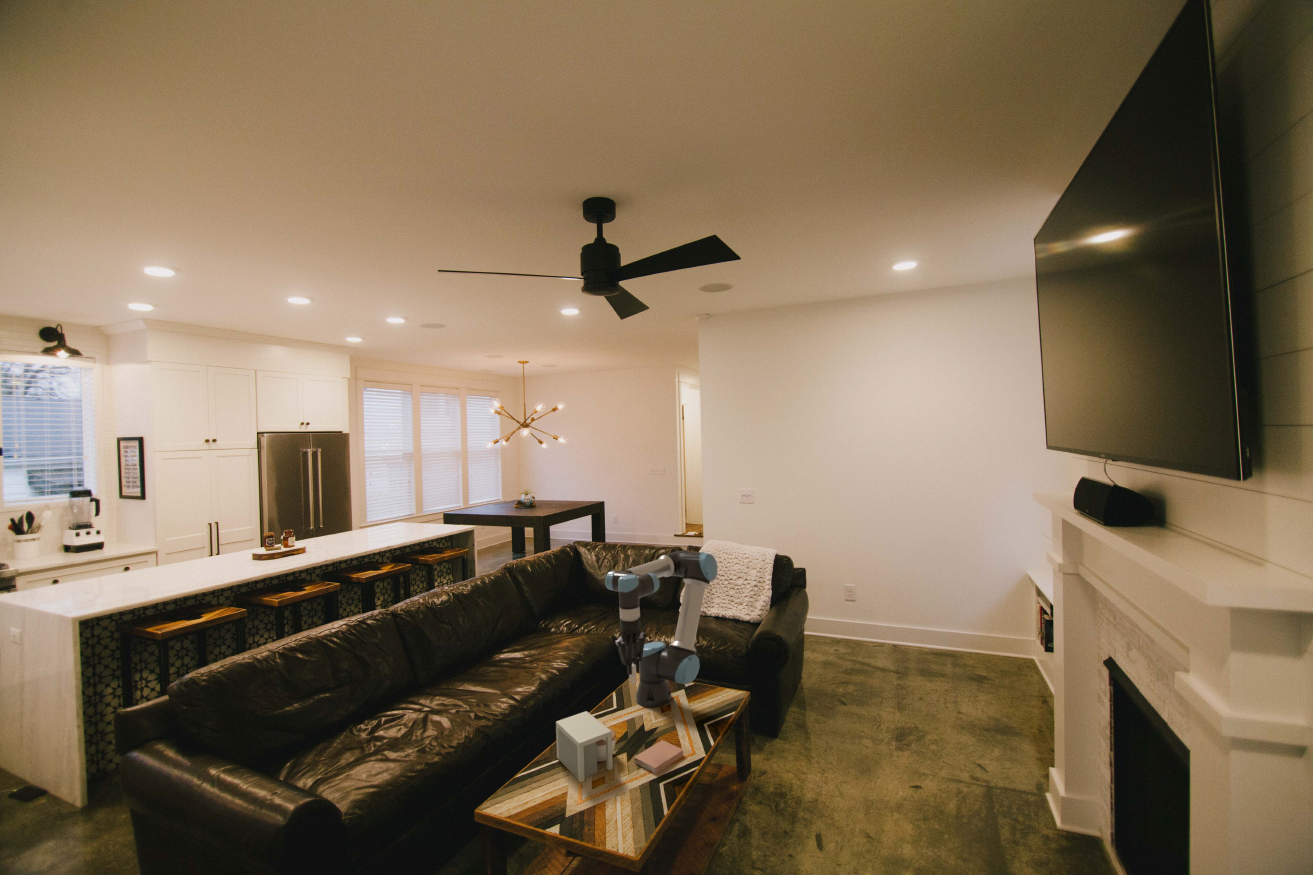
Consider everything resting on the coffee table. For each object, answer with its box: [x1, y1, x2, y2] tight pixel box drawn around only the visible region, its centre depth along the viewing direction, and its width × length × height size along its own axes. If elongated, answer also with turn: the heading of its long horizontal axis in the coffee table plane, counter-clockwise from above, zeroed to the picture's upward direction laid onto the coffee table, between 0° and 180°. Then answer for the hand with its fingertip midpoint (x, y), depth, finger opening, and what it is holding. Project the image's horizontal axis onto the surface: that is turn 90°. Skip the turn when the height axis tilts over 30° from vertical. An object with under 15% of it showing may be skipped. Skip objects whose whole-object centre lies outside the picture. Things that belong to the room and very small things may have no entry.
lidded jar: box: [596, 726, 616, 763], centre depth 188 cm, size 11×11×9 cm
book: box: [633, 739, 684, 775], centre depth 185 cm, size 14×10×2 cm
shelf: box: [555, 710, 614, 783], centre depth 185 cm, size 12×18×12 cm, turn 35°
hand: (633, 681), depth 199 cm, fingers closed
